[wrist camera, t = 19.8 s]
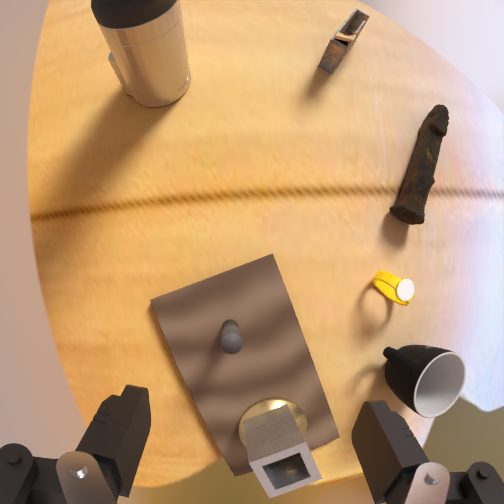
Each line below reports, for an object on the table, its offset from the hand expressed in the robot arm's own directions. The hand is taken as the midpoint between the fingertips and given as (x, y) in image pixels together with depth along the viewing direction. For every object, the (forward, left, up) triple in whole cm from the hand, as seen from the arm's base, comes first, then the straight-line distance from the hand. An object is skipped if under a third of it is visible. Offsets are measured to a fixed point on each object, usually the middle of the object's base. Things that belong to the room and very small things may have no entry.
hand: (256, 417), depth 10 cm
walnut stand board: (+4, -7, -28) cm, 30 cm away
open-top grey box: (+9, -13, -26) cm, 30 cm away
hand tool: (+21, +30, -29) cm, 46 cm away
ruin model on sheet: (+5, +45, -29) cm, 54 cm away
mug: (+25, -1, -29) cm, 38 cm away
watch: (+19, +9, -29) cm, 35 cm away
